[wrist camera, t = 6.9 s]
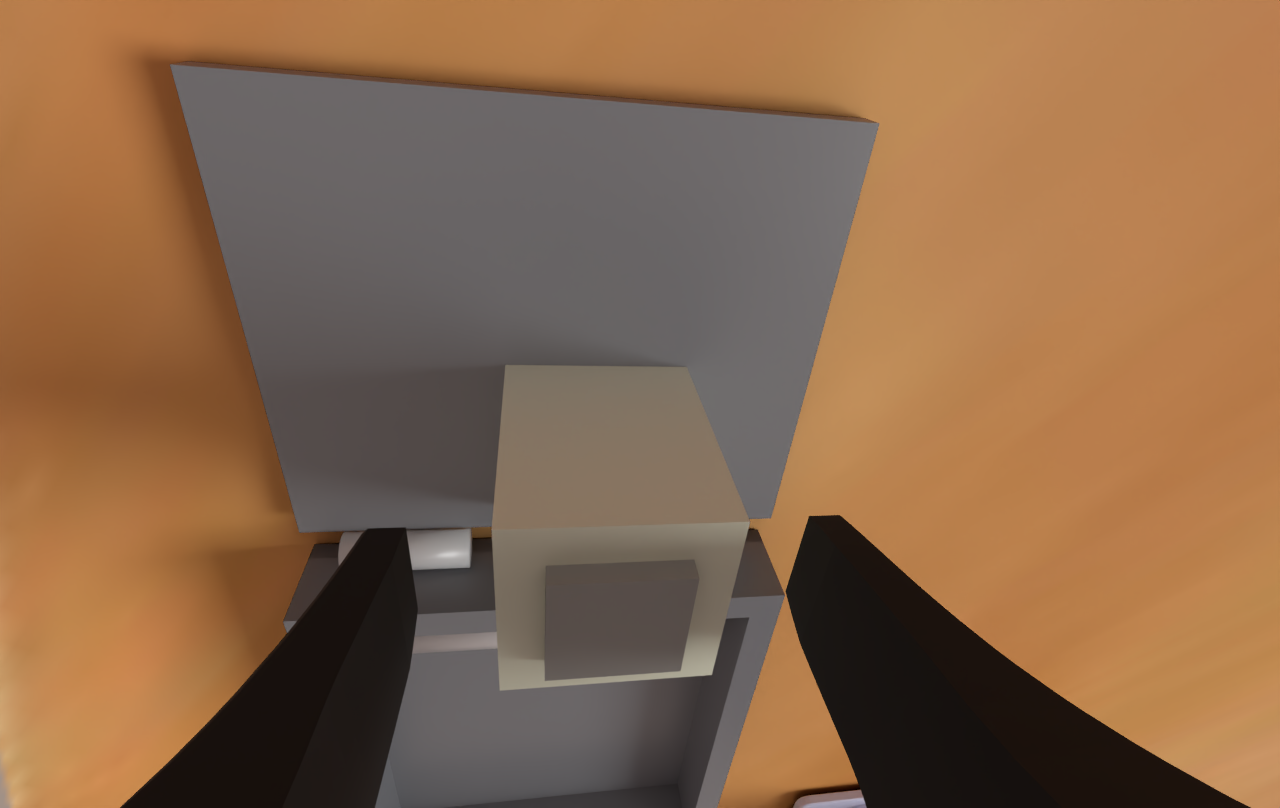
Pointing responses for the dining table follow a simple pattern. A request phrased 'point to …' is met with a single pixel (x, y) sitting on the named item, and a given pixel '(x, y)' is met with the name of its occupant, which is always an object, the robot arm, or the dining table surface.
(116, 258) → the dining table surface
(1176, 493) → the dining table surface
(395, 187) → the lid panel
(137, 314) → the dining table surface
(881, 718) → the robot arm
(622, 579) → the block
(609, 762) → the case
